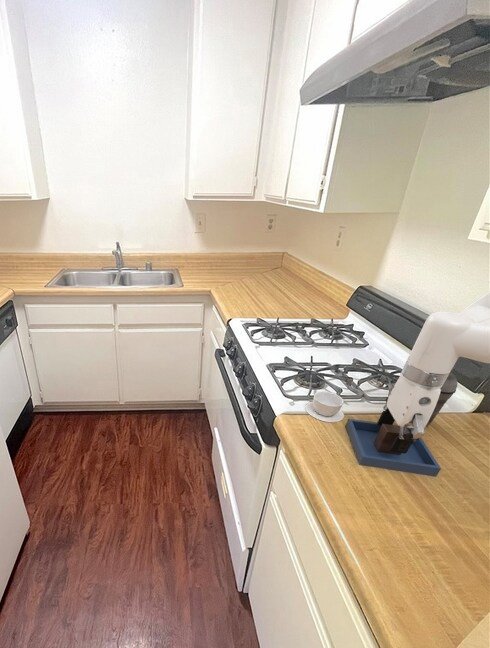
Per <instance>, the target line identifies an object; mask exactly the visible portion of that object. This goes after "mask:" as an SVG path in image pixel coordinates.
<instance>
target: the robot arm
mask: <svg viewBox="0 0 490 648" xmlns="http://www.w3.org/2000/svg"><path fill="white" fill-rule="evenodd" d="M459 358H466V359H469V360H472V361H476V362H480V363H485V364H490V290H489V291H488V292H486V293H485V294H483V295H482V296H480V297H479V298H477V299H476V300H475V301H473V302H472V303H470V304H469V305H468V306H466V307H465V308H463V309H462V310H461V311H460V312H454V311H449V310H441V311H440V310H438V311H434V312H431V313H430V314H429V315H428V316H427V317H426V320H425V322H424V324H423V326H422V328H421V329H420V332H419V334H418V336H417V338H416V341H415V343H414V344H413V347H412V349H411V351H410V353H409V355H408V357H407V359H406V361H405V364H404V365H403V367H402V370H401V372H400V375H399V377H398V379H397V380H396V382H395V384H394V385H393V387H392V388H389V390H388V395H387V397H386V398H385V404H384V405H383V407H382V409H383V410H382V411H381V414H380V416H379V417H378V420H377V422H376V423H377V424H378V425H379V426H382V424H389V425H394V423H396V425H398V426H400V435H399V436H397V437H396V439H395V441H394V442H393V444H392V446H391V448H390V450H391V451H392V452H397V453H403V454H405V453H407V451H408V449H409V448H410V446H411V444H412V442H413V441H416V440H418V439H419V438H420V437H421V438H422V437H423V436H425V428H426V427H425V426H426V425H427V423H428V421H429V419H430V417H431V415H432V413H433V411H434V409H435V406H436V404H437V401H438V398H439V395H440V392H441V389H440V388H441V387H442V386H443V384H444V382H445V380H446V379H447V377H448V375H449V373H450V372H451V371H452V370H453V368H454V366H455V365H456V363H457V361H458V359H459ZM412 423H413V424H412ZM409 424H412V425H409ZM406 428H408V429H411V433H407V434H405V431H406Z"/></svg>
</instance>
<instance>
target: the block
mask: <svg viewBox="0 0 490 648" xmlns="http://www.w3.org/2000/svg"><path fill="white" fill-rule="evenodd" d="M397 425H398V424H393V425H389V424H382V426H381V428H380V431H379V433H378V435H377V437H376V439H375V441H374V445H375V448H376V450H377V452H382V453H389V454H396V455H401V453H397V452H392V451H391V450H390V448H391V446H392V444H393V442H394V441H395V439H396V437H397V436H399V435H400V426H399V425H398V426H397ZM407 433H410V432H409V431H408V429H407V428H406V431H405V434H407Z"/></svg>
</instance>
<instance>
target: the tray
mask: <svg viewBox="0 0 490 648" xmlns="http://www.w3.org/2000/svg"><path fill="white" fill-rule="evenodd" d="M396 425H397V426H399V425H398V424H396ZM344 427H345V430H346V433H347V435H348V438H349V441H350V444H351V446H352V449H353V452H354V454H355V457H356V460H357V463H358V465H359V466H362V467H363V466H364V467H369V468H370V467H371V468H377V469H383V470H390V471H395V472H402V473H409V474H414V475H422V476H428V477H435V478H436V477H437V476H438V475H439V473H440V471H441V470H442V467H441V466H440V464H439V463H438V461H437V460H436V458H435V456H434V455H433V453H432V451H431V450H430V449H429V447H428V446H427V444H426V443H425V441H424V440H423V438H422V437H420V438H419V439H418V440H416V441H413V442H412V444H411V446H410V448H409V449H408V451H407V453H405V454H403V453H401V455H396V454H389V453H382V452H377V450H376V448H375V445H374V441H375V439H376V437H377V435H378V433H379V431H380V428H381V426H379V425H378V424H377V422H375V421H369V420H361V419H353V418H352V419H351V418H348V419H347V420H346V423H345V425H344ZM407 429H408V428H407ZM408 431H409V432H410V433H411V429H408Z"/></svg>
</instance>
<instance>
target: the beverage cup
mask: <svg viewBox="0 0 490 648" xmlns="http://www.w3.org/2000/svg"><path fill="white" fill-rule="evenodd" d="M457 388H458V380H457V377H456V376H455V374H453V372H451V371H450V373H449V375H448V377H447V379H446V380H445V382H444V384H443V386H442V387H441V388H440V389H441V392H440V395H439V398H438V401H437V404H436V406H435V409H434V411H433V413H432V415H431V417H430V419H429V421H428V423H427V425H426V426H425V428H428V427H429V426H430V425H431V424H432V423H433V421H434V420H435V419H436V417H437V416H438V414H439V413H440V411H441V410H442V409H443V407H444V406H445V404H446V403H447V401H448V400H450V398H452V396H453V395H454V394H456V392H457ZM411 424H413V423H411Z"/></svg>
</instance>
